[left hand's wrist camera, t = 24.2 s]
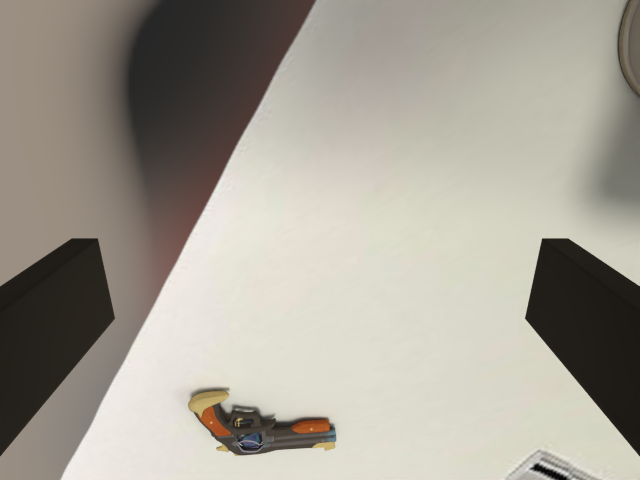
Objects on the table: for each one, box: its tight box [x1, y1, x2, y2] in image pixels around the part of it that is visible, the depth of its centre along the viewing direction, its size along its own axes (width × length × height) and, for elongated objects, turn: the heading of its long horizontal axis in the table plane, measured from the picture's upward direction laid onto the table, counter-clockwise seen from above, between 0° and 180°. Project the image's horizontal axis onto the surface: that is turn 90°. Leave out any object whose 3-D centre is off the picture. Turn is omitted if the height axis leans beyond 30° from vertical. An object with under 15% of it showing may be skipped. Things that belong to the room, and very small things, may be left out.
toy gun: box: [188, 391, 336, 456], centre depth 56 cm, size 3×19×10 cm
